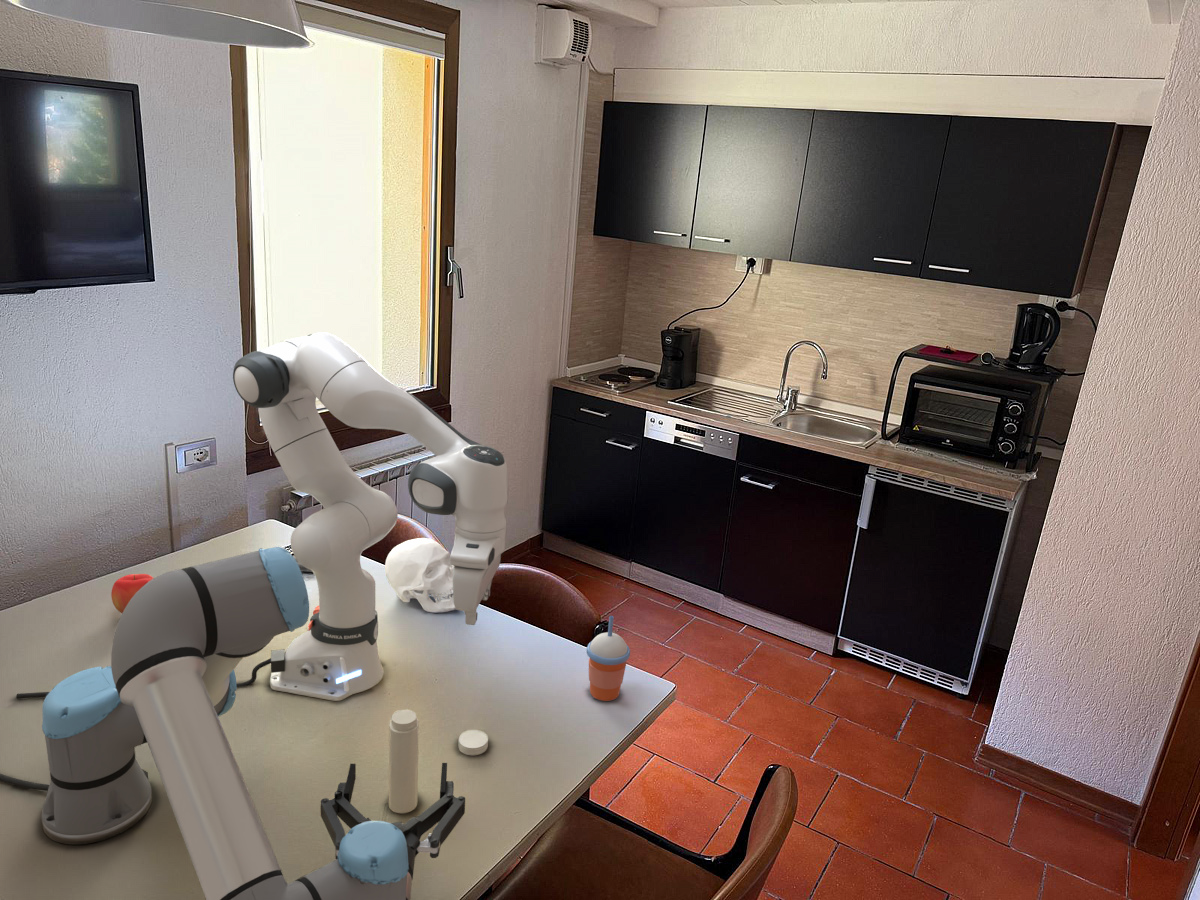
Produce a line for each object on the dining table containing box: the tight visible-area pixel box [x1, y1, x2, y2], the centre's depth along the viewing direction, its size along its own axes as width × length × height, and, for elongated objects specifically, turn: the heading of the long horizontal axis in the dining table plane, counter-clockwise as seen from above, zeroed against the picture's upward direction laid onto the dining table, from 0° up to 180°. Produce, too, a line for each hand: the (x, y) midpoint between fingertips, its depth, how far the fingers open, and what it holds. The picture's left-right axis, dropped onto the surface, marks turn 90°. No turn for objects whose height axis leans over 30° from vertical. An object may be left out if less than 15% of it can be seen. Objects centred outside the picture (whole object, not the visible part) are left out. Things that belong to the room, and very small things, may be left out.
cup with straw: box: [586, 615, 631, 702], centre depth 178 cm, size 9×9×18 cm
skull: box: [384, 537, 457, 614], centre depth 211 cm, size 13×22×16 cm, turn 67°
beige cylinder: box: [388, 709, 420, 814], centre depth 142 cm, size 5×5×17 cm
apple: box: [110, 573, 155, 614], centre depth 194 cm, size 10×10×10 cm
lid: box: [457, 729, 489, 756], centre depth 160 cm, size 6×6×2 cm
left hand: (399, 770), depth 130 cm, fingers open, 13 cm apart
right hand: (477, 610), depth 152 cm, fingers open, 8 cm apart
